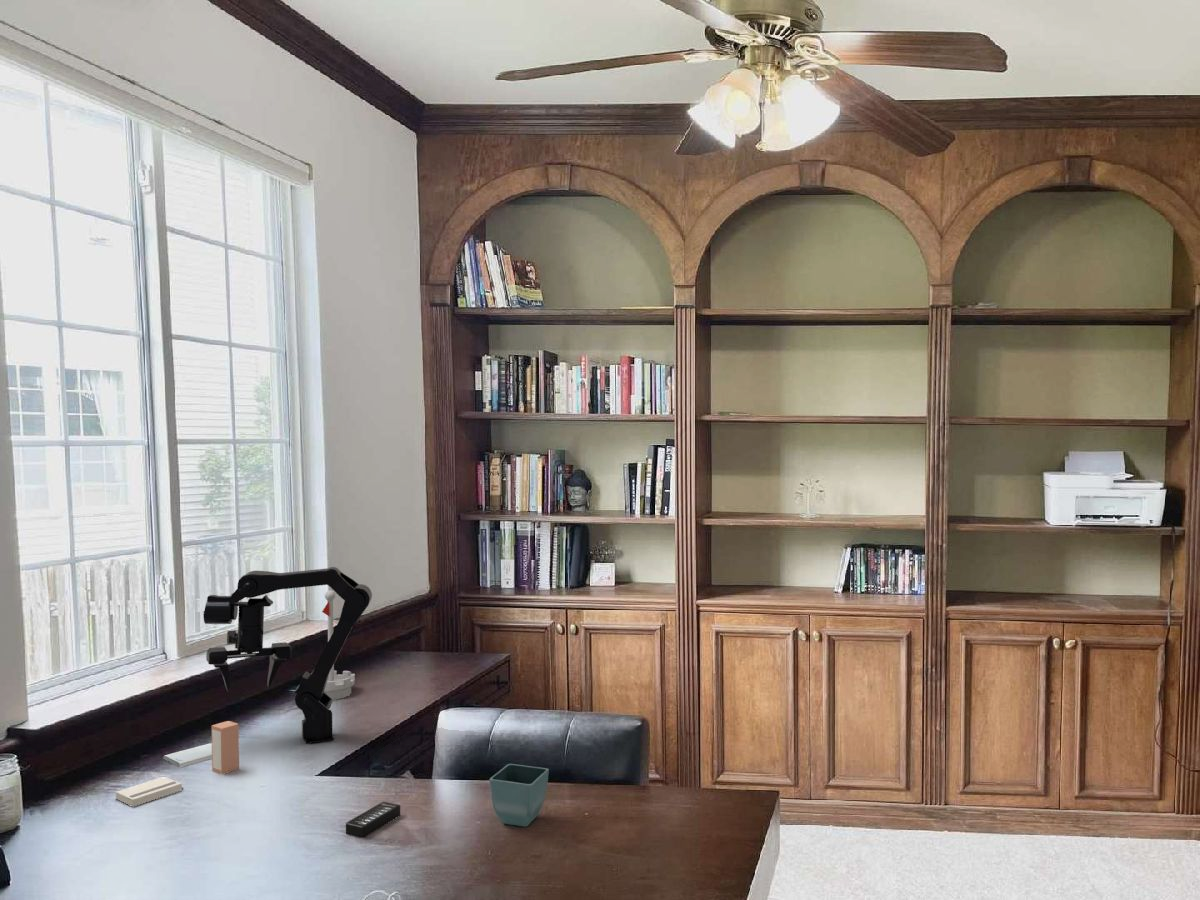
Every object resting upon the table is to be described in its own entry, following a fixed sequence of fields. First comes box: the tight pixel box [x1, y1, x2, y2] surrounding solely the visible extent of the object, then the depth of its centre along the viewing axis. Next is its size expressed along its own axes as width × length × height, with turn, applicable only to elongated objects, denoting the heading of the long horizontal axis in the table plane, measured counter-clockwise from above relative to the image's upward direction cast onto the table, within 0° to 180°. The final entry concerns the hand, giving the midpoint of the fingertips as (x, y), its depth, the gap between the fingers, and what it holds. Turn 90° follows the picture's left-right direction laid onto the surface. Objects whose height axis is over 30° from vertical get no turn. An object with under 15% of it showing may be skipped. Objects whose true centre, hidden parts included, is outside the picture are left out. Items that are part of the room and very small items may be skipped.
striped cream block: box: [115, 776, 184, 808], centre depth 183 cm, size 11×7×2 cm, turn 144°
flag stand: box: [321, 589, 356, 701], centre depth 254 cm, size 13×13×30 cm
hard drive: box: [162, 742, 212, 768], centre depth 205 cm, size 2×8×12 cm
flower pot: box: [489, 763, 550, 827], centre depth 168 cm, size 9×9×9 cm
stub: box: [211, 720, 240, 775], centre depth 196 cm, size 4×4×10 cm
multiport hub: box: [345, 801, 401, 838], centre depth 167 cm, size 4×11×2 cm, turn 155°
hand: (248, 688), depth 214 cm, fingers open, 9 cm apart
